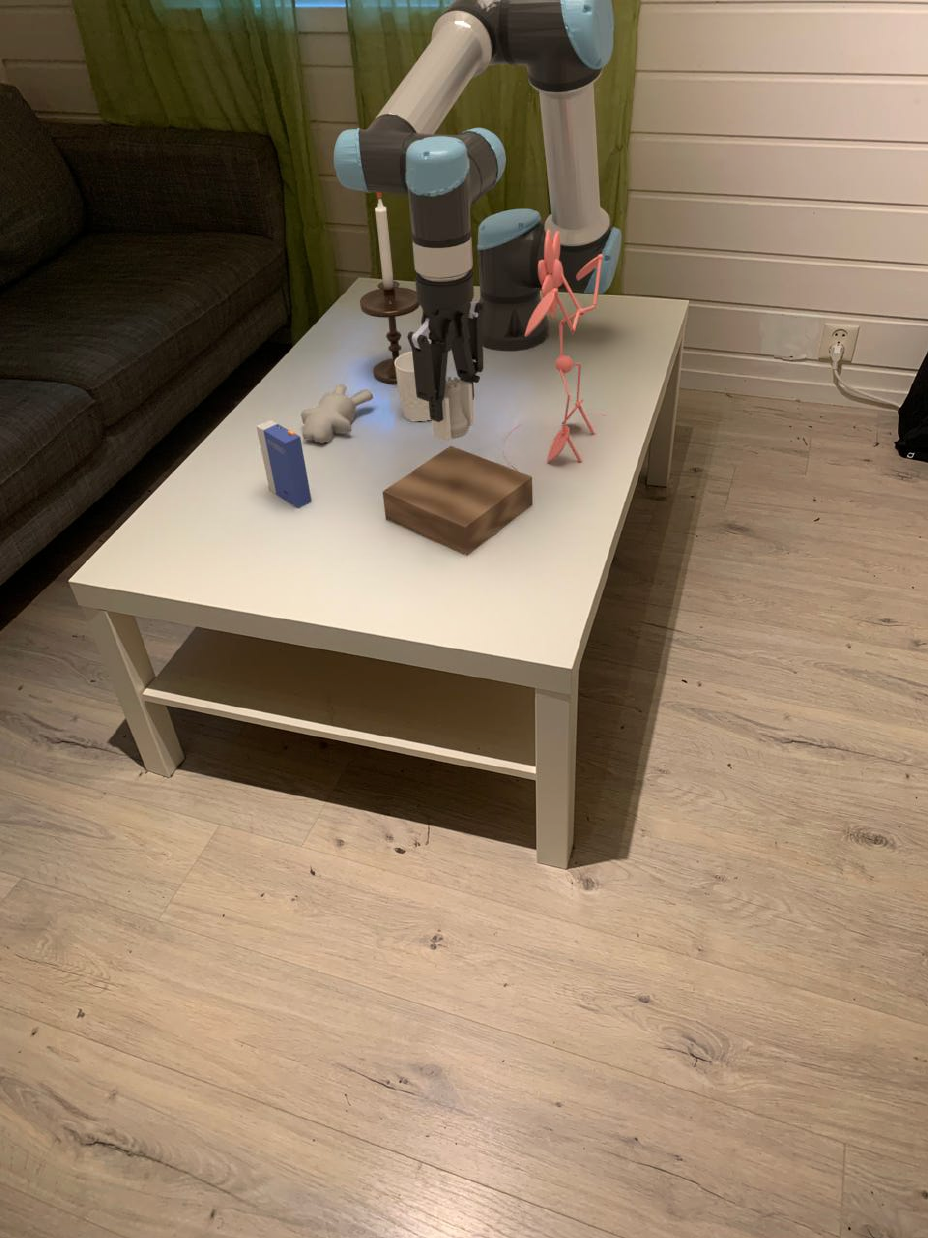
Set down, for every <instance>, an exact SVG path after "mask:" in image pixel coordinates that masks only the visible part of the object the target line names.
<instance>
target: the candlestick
mask: <svg viewBox="0 0 928 1238" xmlns="http://www.w3.org/2000/svg"><path fill="white" fill-rule="evenodd" d="M376 196H377V199H378V200H377V201H378V202H377V207H375V208H374V209H375V211H374V212H375V219H376V229H377V238H378V239H377V240H378V247H379V248H378V249H379V256H380V257H379V258H380V267H381V275H382V276H381V277H382V281H381V282H380V283H378V284H377V289H374V290H371V291H369V292H367V293H365V294H364V295H363V296H361V298H360V300H359V306H360V311H361V312H363V314H365V315H367V316H370V317H374V318H384V319H385V318H386V319H388V330H389V331H388V332H386V335H385V337H386V339H387V341H388V342H389V344H390V345H389V346H388V351H390V352H391V358H388V359H387V358H386V359H385V360H384V359H383V360H382V361H380V362H379V363H377V364H375V366H374V367H373V369H372V371H373V372H372V373H373V377H374V379H375V380H376V381H378V382H379V383H382V384H387V385H398V384H397V377H396V370H395V364H394V362H395V360H396V358H397V357H399V356H400V351H401V350H402V345H401V344H399V341H400V340H401V337H402V333H401V331H398V330H397V320H396V318H397V317H398V318H399V317H402V316H406V315H409V314H411V313H414V311H416V310H417V309H418V308H420V307H421V305H420V304H419V302H418V301H417V295H416V290H414V289H411V288H408V287H407V288H406V287H400V283H399V282H398V281H395V280H394V273H393V265H392V254H391V244H390V243H391V242H390V235H389V234H390V233H389V223H388V222H389V221H388V215H387V214H388V213H387V206H384V204H383V201H382V193H376Z"/></svg>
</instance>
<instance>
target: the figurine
mask: <svg viewBox="0 0 928 1238" xmlns="http://www.w3.org/2000/svg"><path fill="white" fill-rule="evenodd" d="M559 255H560V232H558V231H557V232H556V233H555V235H554V238H553V242H552V236H551V231H550V229H548V231H547V233H546V237H545V245H544V260H541V261H539V264H538V275H539V279H540V282H541V285H542V288H541V300H542V301H541V302H540V303H539V304H538V306H537V307H536V309H535V310H534V312H533V314H532V316H531V318H530V320H529V322H528V325H527V328H526V332H525V337H527V336H528V335H529V334H530V333H531V332H532V331H533V330H534V329H535V328H536V327H537V326H538V325H539V324H540V322H541V321H542V320H543V318H544V317H545V316H547V314H548V312H549V317H550V318H551V319H553V320H554V318H555V316H556V312H557V307H558V306H559V308H560V310H561V313H562V314H563V317H564V318H562V319H561V320H560V322H559V323H558V332H559V335H558V337H559V357H557V359H556V361H555V368H556V370H557V371H558V372H559V374H560V377H561V379H562V382H563V384H564V385H563V386H564V388H565V389H564V390H565V391H566V394H567V400H566V406H565V413H564V419H563V421H562V422H561V424H562V425H563V427H562V428H561V429H560V430H559V431H558V432H557V433H556V435H555V436H554V438H553V441H552V442H551V444H550V449H549V452H548V455H547V460H546V462H547V463H550V462H552V461H553V460H555V459H556V458H557V457H558V456H559V455H560V454H561V452H562V451H563V449H564V447H565V445H566V444H567V443H568V444H569V446H570V448H571V451H572V453H573V454H574V455H575V457H576V459H577V461H578V463H582V461H583V460H582V458H581V457H580V454H579V452H578V451H577V448H576V447H575V445H574V443H573V441H572V440H571V437H570V427H569V426H568V425H567V421H568V420H569V419H570V417H572V415H573V414H574V413H575V411H576V410H577V409H578V411H579V413H580V414H581V417H582V419H583V420H584V422H585V424H586V426H587V428H588V430H589V432H590V433H591V435H594V434H596V433H595V430H594V429H593V427H592V425H591V423H590V421H589V419H588V416H587V415H586V413H585V411H584V409H583V408H582V406H581V405H582V404H583V402H584V401H585V400H584V399H583V398H582V399H580V398H579V395H580V384H581V383H580V381H581V374H582V373H581V370H582V363H580V362H573V359H572V358H571V357H570V356H568V355H564V353H563V348H564V347H563V346H564V345H563V341H564V339H563V338H564V336H563V335H564V333H563V332H564V330H563V329H564V328H563V326H564V323H567V325H568V328H569V329H570V332H571V334H575V331H576V328H577V325H578V321H579V318H580V317H581V316H584V314H585V313H586V312H590V311H593V310H594V309H596V307H597V302H598V295H599V294H598V288H599V280H600V273H601V265H602V259H603V255H602V254H599V255H598V257H596V258H594V259H593V260H591V261H590V262H589V263H588V264H586V265H585V266H584V267H583V268H582V269H581V270H580V271H579V272H578V274H577V275H576V279H577V280H580V279H581V278H583V277H584V276H585V275H587V274H588V273H589V272H591V271H592V270H593V269H594V268H595V267H597V266H598V269H597V277H596V285H595V292H594V294H593V301H592V305H591V306H588V307H585V308H582V307H581V306H580V303H579V301H578V300H577V298H576V296H575V295H574V292H572V290H571V289H570V287H569V285H568V283H567V281H566V279H565V277H564V275H563V267H562V264H561V262H560V261H559ZM562 283H564V285H565V287H566V289H567V291H566V292H568V294H569V296H570V298H571V300H572V302H573V303H574V305H575V307H576V309H577V311H576V312H575V313H573V314H572V315H568V312H567V310H566V309H565V306H564V304H563V302H562V300H561V298H560V296H559V290H558V287H559V286H561V285H562ZM572 319H574V320H573V323H572V322H571V321H572ZM573 366H578V368H577V369H578V371H577V388H576V400H575V401H576V402H575V404H574V408H573V409H572V410H571V411H570V412H569V407H570V400H571V393H570V390H569V388H568V384H567V381H566V379H565V376H564V374H566V373H569V372H570V371H571V370H572V369H573ZM579 399H580V401H579ZM568 412H569V413H568ZM598 415H599V416H604V417H607V415H605V414H601V413H598ZM520 426H521V424H520V425H518V426H517V427H515V428H514V429H513V430H512V432H514V431H515V430H516V429H518V428H519V427H520ZM509 435H510V434H508V435H507V436H506V438H505V440H504V438H502V440H501V441H503V440H504V441H503V445H502V446H503V447H504V445H505V441H506V440H507V438H508V437H509ZM504 452H505V451H503V454H504ZM500 457H501V458H502V460H504V459H503V456H502V455H500ZM504 458H506V456H505V455H504ZM506 462H507V463H508V464H509V465H511V463H510V462H509V461H508V460H506ZM511 467H512V469H513V470H516V468H515V467H513V465H511Z"/></svg>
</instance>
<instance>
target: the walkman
mask: <svg viewBox="0 0 928 1238" xmlns="http://www.w3.org/2000/svg"><path fill="white" fill-rule="evenodd" d="M256 430H257V435H258V439H259V445H260V452H261V456H262V461H263V462H262V463H263V466H264V470H265V476H266V481H267V485H268V489H269V491H270V492H272V493H274V494H275V495H277V496H278V497H280V498H281V499H283V500H285V501H286V502H288V503H289V504H290V505H292V506H294V507H295V508H298V509H299V508H301V507H303V506H305V505H307V504H308V503H310V502H312V495H311V489H310V484H309V479H308V474H307V473H308V472H307V467H306V462H305V456H304V450H303V444H302V440H301V436H300V435H298V434H297V433H296V432H295V431H293V430H291V429H289V428H286V427H285V426H283V425H281V424H279V423H277V422H275V421H273V420H272V419H270V420H268V421H266V422H262V423H259V424H257V425H256Z"/></svg>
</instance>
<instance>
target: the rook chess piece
mask: <svg viewBox="0 0 928 1238" xmlns="http://www.w3.org/2000/svg"><path fill="white" fill-rule="evenodd" d="M457 379H458V380H457ZM462 388H463V386H462V384H461V383H460V378H458V377H453V379H452V376H448V377H447V379H446V382H445V394H444V397H446V398H449V411H450V426H451V440H453V439H459V438H460V439H461V438H462V437H464V436H465V435H467V433H468V432H469V429H470V428H469V427H470V426H468V421H467V418H466V417H465V415H464V414H463V412H462V408H461V400H460V399H461V398H462V396H461V395H460V391H461V390H462Z"/></svg>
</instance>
